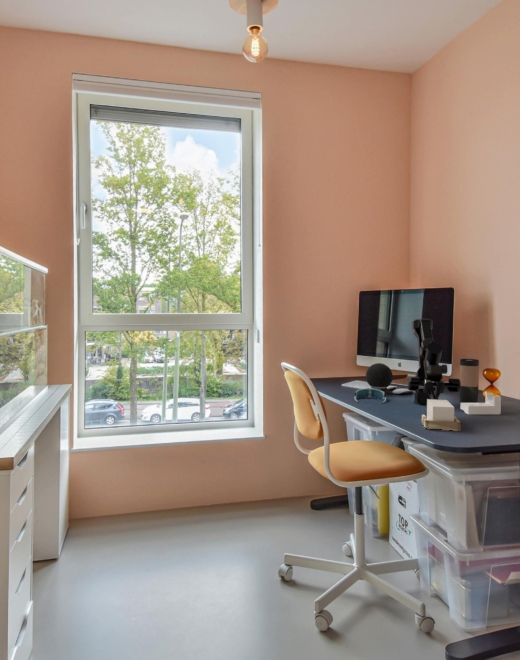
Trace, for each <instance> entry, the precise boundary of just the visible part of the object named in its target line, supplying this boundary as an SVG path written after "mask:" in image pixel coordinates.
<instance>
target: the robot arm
mask: <svg viewBox="0 0 520 660" xmlns="http://www.w3.org/2000/svg"><path fill="white" fill-rule="evenodd" d="M433 321H434V320H432V319H429V318H419V319H418V318H417V319H414V320H412V322H411V329H412V330H413V335H414V337H415V338H416V339H417V352H418V353H417V354H418V355H417V356H418V369H417V371H416V373H415V376H410V377H409V378H408V384H407V388H408V389H407V390H409V391H410V392H411V391H413V392H414V401H413V403H415V404H417V405H420V406H427V399H437V400H439V397H440V395H441V394H444V392H445V389H447V391H448V392H449V393H460V385H461V382H460V378H457V377H456V378H455V377H454V378H453V377H452V378H451V377H450V378H448V379H447V381H444V380H443V375H445V374H446V375H447V374H448V365H447V364H441V365H440V361H441V357H442V354H444V353H443V349H444V348H443V346H442V345H441V344H440V343H438V342H437V341H436V340H435V339H434V337H433V331H432V330H433V328H434V327H433V326H434V325H433Z"/></svg>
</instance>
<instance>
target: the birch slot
mask: <svg viewBox="0 0 520 660" xmlns="http://www.w3.org/2000/svg"><path fill="white" fill-rule="evenodd" d="M461 423H462V422H461V421H460V420H459V419H458V418H457V416H455V415H454V421H434V420H428V419H427V415H425V414H421V424H422V426H423V425H424V426H423V427H425V428H427V429H426V430H430V429H442V430H441V431H449V430H453V431H452V432H461V429H462V427H461V425H462V424H461ZM425 428H424V429H425Z"/></svg>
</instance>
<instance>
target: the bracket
mask: <svg viewBox="0 0 520 660" xmlns="http://www.w3.org/2000/svg"><path fill="white" fill-rule="evenodd" d="M501 403H502V396H501V395H494V393H493V392H486V393H485V401H484V402H478V403H461V405H460V404H459V405H460V407H459V408H460V410H462V411H464V413H465V414H467V415H501V414H502V413H501V408H502V407H501V405H502V404H501Z"/></svg>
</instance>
